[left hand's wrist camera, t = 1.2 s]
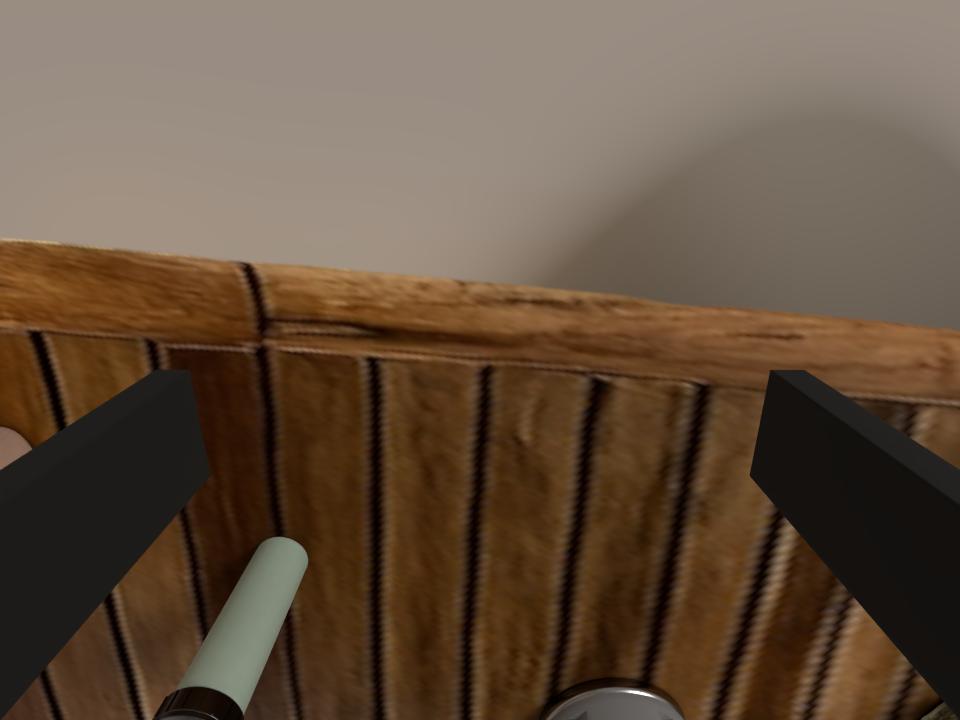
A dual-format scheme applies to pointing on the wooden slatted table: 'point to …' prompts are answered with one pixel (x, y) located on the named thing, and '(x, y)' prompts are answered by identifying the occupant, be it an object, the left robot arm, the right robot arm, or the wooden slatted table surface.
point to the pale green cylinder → (249, 622)
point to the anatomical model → (11, 446)
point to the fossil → (941, 714)
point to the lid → (198, 705)
